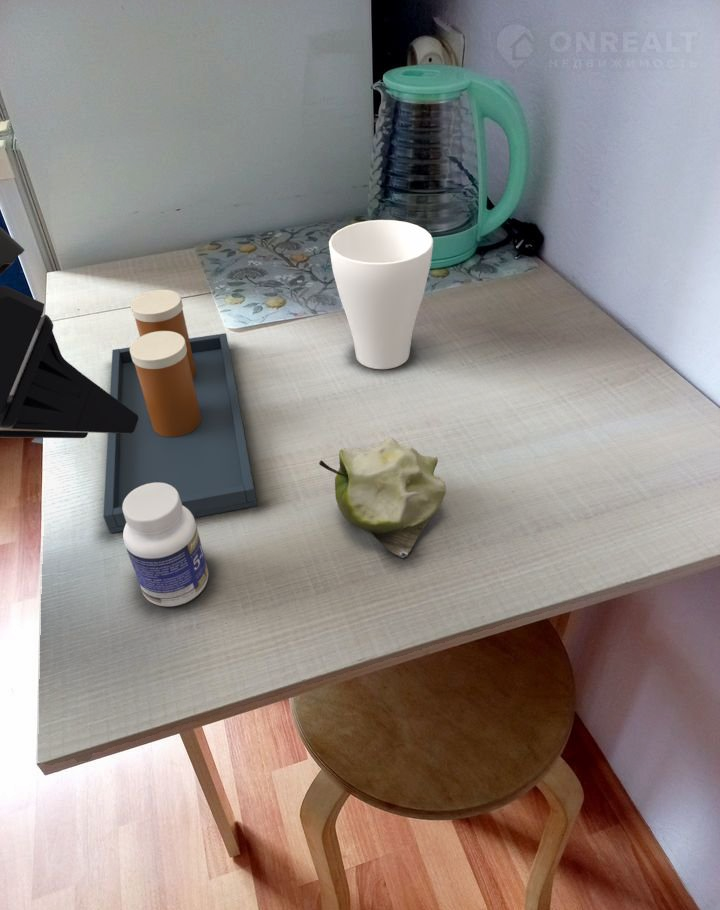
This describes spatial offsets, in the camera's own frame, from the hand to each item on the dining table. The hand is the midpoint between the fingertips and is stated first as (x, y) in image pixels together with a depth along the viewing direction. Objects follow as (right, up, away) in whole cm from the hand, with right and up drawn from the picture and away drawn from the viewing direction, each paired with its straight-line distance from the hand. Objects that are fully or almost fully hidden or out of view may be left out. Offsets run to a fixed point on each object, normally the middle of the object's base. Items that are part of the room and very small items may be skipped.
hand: (109, 428), depth 44 cm
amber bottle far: (-5, +7, +33) cm, 34 cm away
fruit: (+18, -7, +17) cm, 26 cm away
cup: (+18, +9, +36) cm, 41 cm away
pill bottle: (+1, -12, +12) cm, 17 cm away
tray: (-3, +1, +27) cm, 27 cm away
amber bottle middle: (-3, +2, +26) cm, 27 cm away
